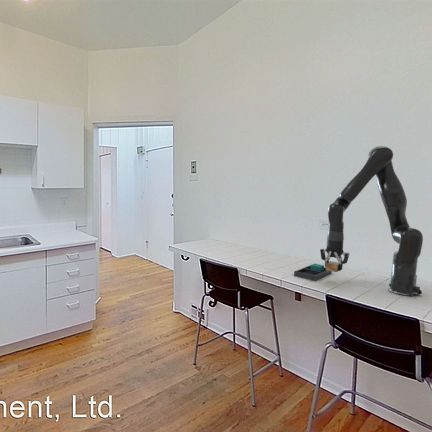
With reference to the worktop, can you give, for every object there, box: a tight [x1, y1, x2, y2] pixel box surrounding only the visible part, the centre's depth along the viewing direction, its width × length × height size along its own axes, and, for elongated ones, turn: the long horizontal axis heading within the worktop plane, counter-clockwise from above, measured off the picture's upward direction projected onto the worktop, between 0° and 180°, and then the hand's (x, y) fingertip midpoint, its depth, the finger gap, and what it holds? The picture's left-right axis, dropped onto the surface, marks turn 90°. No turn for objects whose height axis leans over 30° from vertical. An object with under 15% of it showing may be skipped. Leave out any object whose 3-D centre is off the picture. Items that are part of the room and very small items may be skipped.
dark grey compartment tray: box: [293, 264, 333, 282], centre depth 179 cm, size 12×22×3 cm, turn 127°
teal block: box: [309, 263, 325, 272], centre depth 183 cm, size 6×6×4 cm
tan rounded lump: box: [325, 260, 339, 273], centre depth 164 cm, size 6×6×4 cm
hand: (333, 269), depth 164 cm, fingers closed on tan rounded lump, 5 cm apart
